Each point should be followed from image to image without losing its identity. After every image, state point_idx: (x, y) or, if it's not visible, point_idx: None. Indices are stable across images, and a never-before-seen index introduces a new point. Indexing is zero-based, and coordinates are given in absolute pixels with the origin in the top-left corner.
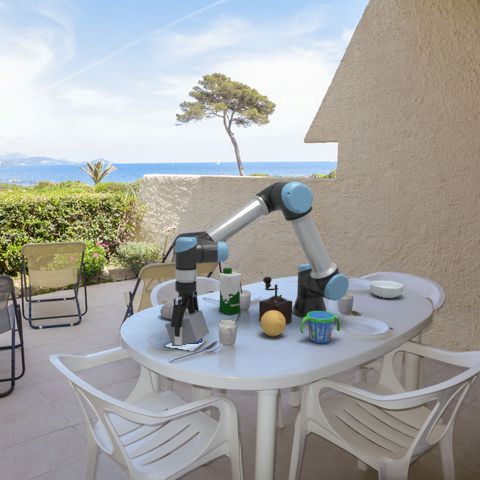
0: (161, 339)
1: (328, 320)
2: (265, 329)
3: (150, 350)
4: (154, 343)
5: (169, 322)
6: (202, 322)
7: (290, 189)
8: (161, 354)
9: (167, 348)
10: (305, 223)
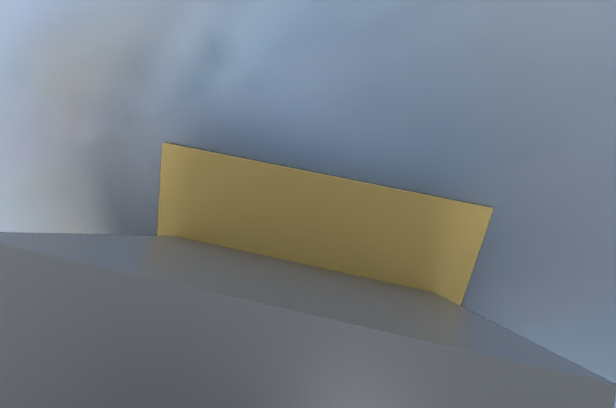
0: (361, 41)
1: None
2: None
3: (52, 52)
4: (226, 11)
5: (58, 299)
6: None
7: None
8: (19, 185)
9: (149, 192)
10: None
